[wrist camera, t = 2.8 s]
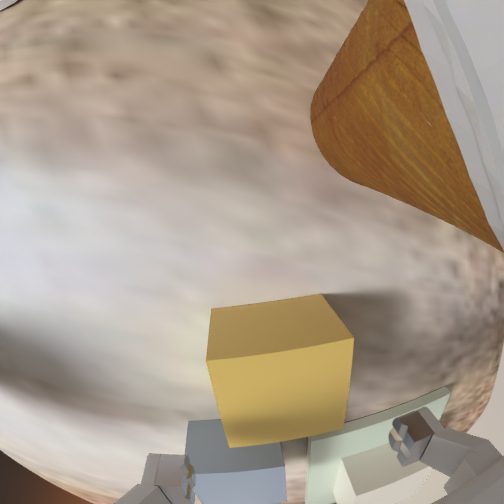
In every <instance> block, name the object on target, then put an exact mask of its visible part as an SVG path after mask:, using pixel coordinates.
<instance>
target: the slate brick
mask: <svg viewBox="0 0 504 504" xmlns="http://www.w3.org/2000/svg"><path fill="white" fill-rule="evenodd" d="M185 455H188V457H189V459H190V463H189V464H191V465H193V467H194V470H195V476H196V485H195V486H194V487H193V488H192V489H193V491H194V492H195V494H196V495H197V497H198V498H199V500H200V501H201V503H202V504H274V503H281V502H287V492H286V476H285V464H284V460H283V455H282V450H281V445H280V442H276V443H269V444H261V445H253V446H244V447H233V448H229V445H228V441H227V438H226V434H225V431H224V428H223V424H222V420H221V419H216V420H199V421H188V429H187V438H186V448H185Z"/></svg>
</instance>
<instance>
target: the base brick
mask: <svg viewBox="0 0 504 504" xmlns="http://www.w3.org/2000/svg"><path fill="white" fill-rule="evenodd" d="M397 453H398V452H396V451H394V450H392V448H391V446H390V444H389V442H388V443H386V444H383V445H380V446H377V447H375V448H372V449H369V450H366V451H363V452H359V453H356V454H353V455H350V456H346V457H343V458H341V461H340V465H339V470H338V474H337V478H336V482H335V486H334V490H333V493H334V496H335V499H336V502H337V504H398V503H400V502H403V501H405V500H407V499H409V498H411V497H413V496H414V495H415V493H416V492H417V491H418V489H419V488H420V487H421V485H422V484H423V483H424V481H425V480H426V478H427V477H428V476H429V474H430V472H431V471H432V469H433V468H432V467H430V466H428V465H426V464H424V463H422V462H420V460H419V461H417V462H414V463H412V464H410V465H407V466H405V467H402V465H401V464H400V462H399V460H398V458H397Z"/></svg>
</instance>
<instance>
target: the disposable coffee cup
mask: <svg viewBox="0 0 504 504" xmlns="http://www.w3.org/2000/svg"><path fill="white" fill-rule="evenodd" d="M310 118H311V124H312V130H313V135H314V138H315V141H316V143H317V145H318V147H319V149H320V151H321V153H322V155H323V156H324V157H325V159H326V160H327V161H328V163H329V164H330V165H331V166H332V167H333V168H334V169H335V170H336V171H337V172H338V173H339V174H341V175H342V176H344V177H346V178H347V179H349V180H351V181H352V182H355V183H357V184H360V185H363V186H366V187H369V188H371V189H374V190H376V191H379V192H381V193H384V194H386V195H388V196H390V197H393V198H395V199H397V200H400V201H402V202H405V203H407V204H409V205H412V206H414V207H416V208H418V209H420V210H422V211H425V212H427V213H429V214H431V215H433V216H435V217H437V218H439V219H442V220H444V221H445V222H448V223H450V224H452V225H454V226H456V227H458V228H459V229H461V230H463V231H465V232H467V233H469V234H471V235H473V236H475V237H477V238H478V239H480V240H482V241H484V242H486V243H488V244H490V245H491V246H493V247H495V248H496V249H498V250H500V251H502V252H503V253H504V0H369V1H368V3H367V5H366V6H365V8H364V10H363V11H362V12H361V14H360V16H359V18H358V20H357V22H356V23H355V25H354V26H353V28H352V29H351V31H350V33H349V35H348V37H347V39H346V40H345V42H344V44H343V45H342V47H341V49H340V50H339V52H338V53H337V55H336V57H335V59H334V61H333V62H332V64H331V66H330V68H329V69H328V71H327V73H326V75H325V77H324V78H323V80H322V82H321V83H320V85H319V86H318V88H317V90H316V92H315V94H314V97H313V100H312V104H311V116H310Z"/></svg>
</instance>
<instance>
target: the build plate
mask: <svg viewBox="0 0 504 504" xmlns="http://www.w3.org/2000/svg"><path fill="white" fill-rule="evenodd" d="M450 394H451V392H450V391H449V390H448V389H447V388H446V387H445V386H444V387H442V388H440V389H438V390H435V391H433V392H431V393H429V394H426V395H424V396H422V397H419V398H417V399H414V400H412V401H409V402H407V403H404V404H402V405H399V406H396V407H393V408H391V409H388V410H385V411H382V412H379V413H376V414H373V415H370V416H367V417H363V418H360V419H357V420H353V421H350V422H346V423H344V428H343V429H339V430H335V431H331V432H327V433H323V434H318V435H314V436H309V437H308V447H307V470H306V487H305V504H331V503H335V502H336V499H335V496H334V493H333V490H334V486H335V482H336V478H337V474H338V470H339V465H340V461H341V458H343V457H346V456H350V455H353V454H356V453H359V452H363V451H366V450H369V449H372V448H375V447H377V446H380V445H383V444H386V443H388V442H389V438H388V435H389V432H390V430H391V429H392V428H393V425H392V422H393V420H394V419H395V418H397V417H399V416H402V415H405V414H407V413H409V412H412V411H415V410H418V409H420V408H422V407H425V406H426V407H428V408H429V410H430V411H431V412H432V413H433V414H434V416H435V417H436V418H437V419H438V421H439V420H440V418H441V416H442V413H443V411H444V409H445V406H446V404H447V401H448V399H449V396H450Z"/></svg>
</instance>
